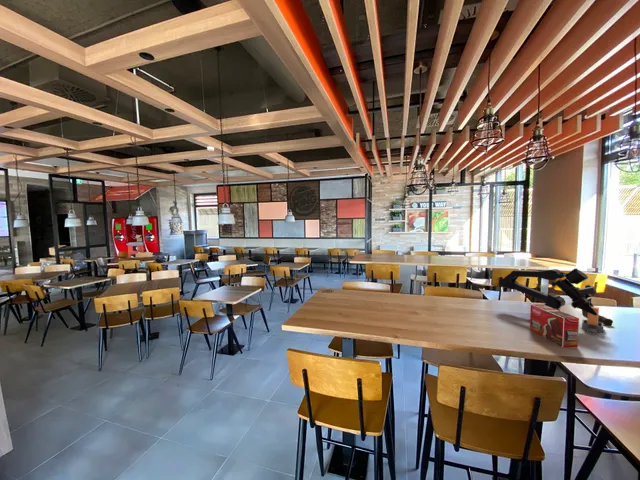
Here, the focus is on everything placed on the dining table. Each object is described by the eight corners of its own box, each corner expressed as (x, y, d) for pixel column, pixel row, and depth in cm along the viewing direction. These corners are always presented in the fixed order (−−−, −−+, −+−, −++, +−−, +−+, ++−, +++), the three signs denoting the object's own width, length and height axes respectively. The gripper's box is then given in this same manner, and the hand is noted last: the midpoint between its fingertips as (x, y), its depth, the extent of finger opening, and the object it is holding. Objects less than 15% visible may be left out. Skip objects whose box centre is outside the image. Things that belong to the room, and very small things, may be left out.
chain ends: (603, 337, 127) (603, 331, 127) (581, 332, 133) (581, 326, 133) (602, 324, 142) (602, 319, 142) (582, 321, 148) (583, 316, 147)
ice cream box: (529, 329, 137) (530, 304, 137) (542, 329, 137) (543, 304, 136) (562, 347, 117) (563, 318, 117) (577, 347, 117) (579, 318, 116)
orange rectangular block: (596, 327, 135) (598, 308, 134) (587, 325, 138) (588, 307, 137) (597, 326, 137) (598, 307, 136) (588, 324, 140) (589, 305, 139)
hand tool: (613, 326, 140) (613, 318, 140) (603, 326, 141) (604, 317, 141) (588, 314, 159) (588, 307, 158) (579, 314, 160) (580, 306, 159)
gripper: (581, 283, 133) (612, 310, 125) (586, 278, 145) (615, 302, 137) (559, 295, 140) (588, 321, 132) (566, 289, 151) (593, 313, 144)
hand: (597, 314), depth 136 cm, fingers closed on orange rectangular block, 4 cm apart
